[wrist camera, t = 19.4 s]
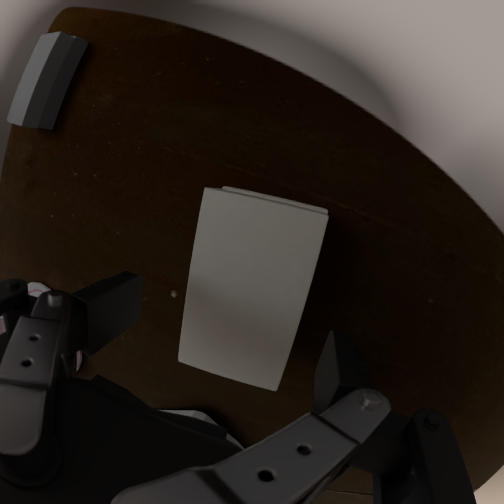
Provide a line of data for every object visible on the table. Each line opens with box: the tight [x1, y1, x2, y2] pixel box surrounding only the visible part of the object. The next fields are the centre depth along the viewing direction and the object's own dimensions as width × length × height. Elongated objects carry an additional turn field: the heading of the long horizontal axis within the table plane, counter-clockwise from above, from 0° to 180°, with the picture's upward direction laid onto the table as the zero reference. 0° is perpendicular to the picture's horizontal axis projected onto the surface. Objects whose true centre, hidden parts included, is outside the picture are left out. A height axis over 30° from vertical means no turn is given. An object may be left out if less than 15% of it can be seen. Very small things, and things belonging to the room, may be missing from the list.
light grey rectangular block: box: [178, 188, 329, 391], centre depth 15 cm, size 10×6×3 cm, turn 168°
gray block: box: [7, 32, 89, 130], centre depth 19 cm, size 10×4×4 cm, turn 158°
